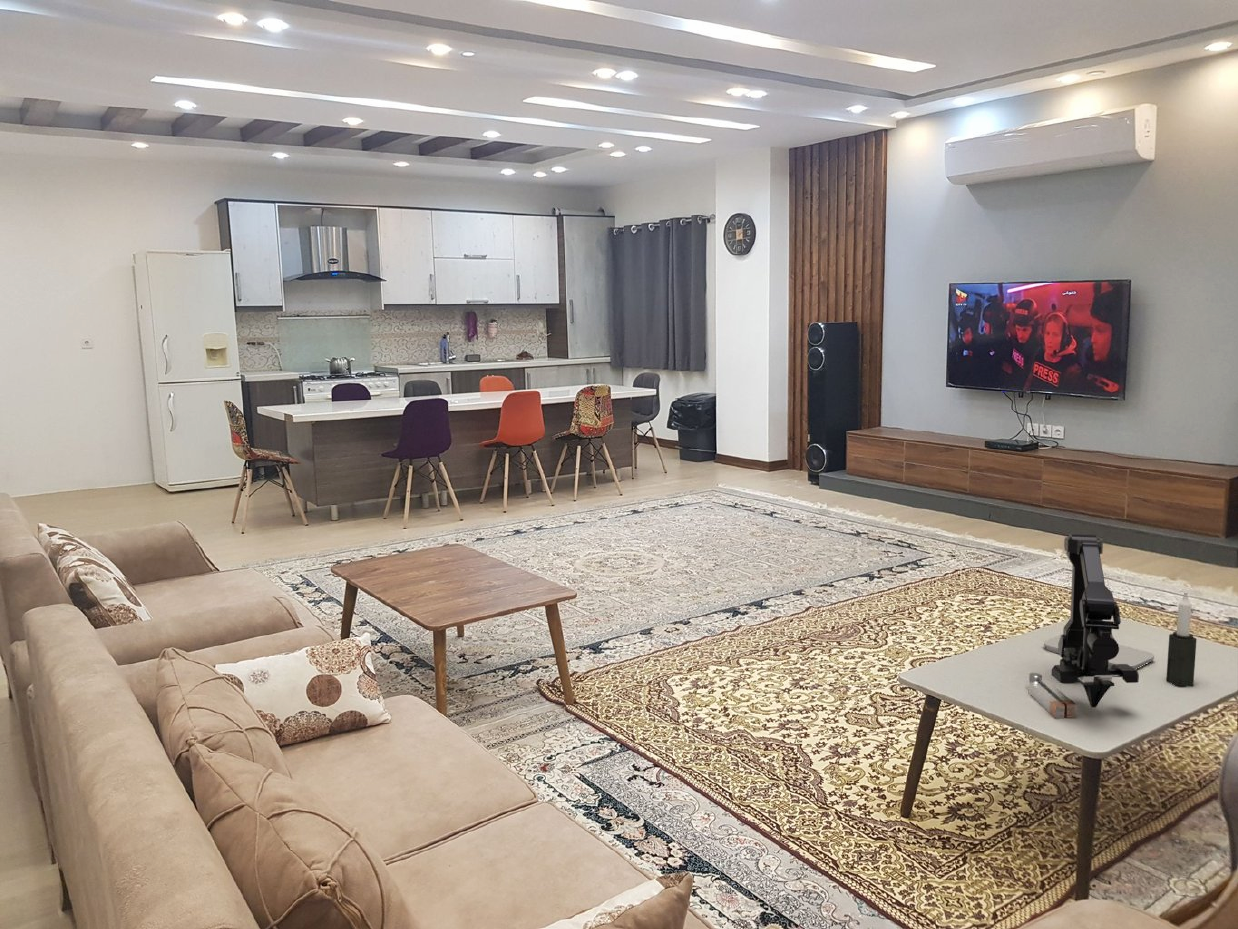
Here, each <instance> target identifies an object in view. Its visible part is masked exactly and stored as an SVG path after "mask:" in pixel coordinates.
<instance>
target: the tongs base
mask: <svg viewBox="0 0 1238 929" xmlns="http://www.w3.org/2000/svg"><path fill="white" fill-rule="evenodd" d="M1028 678H1029V679H1028V694H1029V695H1030V696H1031V695H1032V696H1033V699H1034V700H1035V701H1036V702H1037V703H1039V705H1040V706H1042V707H1043V708H1044V709H1045V710H1046V711H1047V712H1048V713H1049V712H1050V713H1049V714H1050V716H1052V717H1053V719H1065V715H1064V709H1065V706H1064V705H1063V704H1062V703H1061V702H1060V701H1058V700H1056V699H1055V698H1054V697H1053V696H1052V695H1051V694H1050V693H1049V692H1048V691H1047V690H1045V689H1044V688H1043V687H1042V686H1041V681H1043V675H1042V674H1040V673H1038V672H1031V673H1029V674H1028ZM1032 696H1031V697H1032Z"/></svg>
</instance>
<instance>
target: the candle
mask: <svg viewBox="0 0 1238 929" xmlns="http://www.w3.org/2000/svg"><path fill="white" fill-rule="evenodd" d="M1188 596H1189V595H1188V591H1184V592H1183V596H1182V597H1181V600H1180V601H1179V602H1178V607H1177V622H1176V631H1174V632H1172V633H1170V634H1169V635H1168V649H1167V651H1168V652H1167V664H1166V665H1167V666H1166V682H1167V683H1170V684H1171V683H1172V684H1171V685H1173V684H1174V685H1175V686H1174V685H1173V686H1174V687H1176V686H1179V687H1178V688H1186V686H1191V687H1194V683H1195V680H1194V679H1195V667H1196V653H1197V652H1196V651H1197V641H1198V640H1197V638H1196V637H1194V634H1192V633H1191V621H1192V620H1191V618H1192V603H1191V602H1190V599H1189V597H1188Z"/></svg>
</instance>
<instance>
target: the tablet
mask: <svg viewBox="0 0 1238 929" xmlns="http://www.w3.org/2000/svg"><path fill="white" fill-rule="evenodd" d="M1061 635H1063V633H1062V634H1060V635H1056V636H1054V637H1051V638H1049V639H1047V640H1044V641H1043V646H1044V647H1045V649H1046V651H1048V650H1049V651H1048V652H1051V651H1052V652H1051V653H1054V652H1056V653H1055V654H1058V653H1059V652H1058V643H1059V640H1060V637H1061ZM1118 646H1119V652H1118V654H1117V656H1116V657H1115V658H1113V659H1111V660H1109V663H1108V667H1110V668H1109V669H1111V666H1112V665H1113V664H1128V665H1129V666H1131V667H1132V668H1133V669H1136V668H1138V667H1140V666H1142V665H1144V664H1146V663H1149V662H1151V663H1152V661H1153V660H1154V659H1155V655H1154V654H1153V653H1151V652H1149V651H1145V650H1142V649H1138V648H1134V647H1130V646H1126V645H1124V644H1119V643H1118ZM1064 650H1065V649H1064ZM1149 664H1150V663H1149ZM1140 668H1141V667H1140ZM1138 669H1139V668H1138ZM1136 670H1137V669H1136Z"/></svg>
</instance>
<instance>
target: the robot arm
mask: <svg viewBox="0 0 1238 929" xmlns="http://www.w3.org/2000/svg"><path fill="white" fill-rule="evenodd" d="M1063 542H1064V543H1063V547H1064V551H1065V552H1066V556H1067V558H1068V560H1069V562H1070V563H1071V566H1072V567H1071V568H1072V570H1071V598H1070V618H1069V620H1068V621H1067V622H1066V624H1065V625H1064V626H1063V628H1062V629H1063V630H1062V634H1063V635H1062V634H1060V635H1061V637H1060V640H1059V643H1058V652H1059V654H1058V655H1059V656H1060V658H1061V659H1060V660H1059V664H1054V666H1053V667H1051V676H1052V677H1053V678H1054V679H1055V680H1056V681H1057V682H1058V683H1060V684H1065V685H1066V684H1072V685H1073V684H1076V683H1077V682H1079V683H1080V684H1082V686H1083V688H1084V691H1085V693H1086V697H1087V699H1088V703H1089V705H1090V707H1091V708H1092V709H1093V708H1097V706H1098V704H1099V703H1100V701H1101V700H1102V699H1103V697H1104V695H1105V694H1107V692H1108V691H1109V689H1111V687H1114V686H1115V683H1114V682H1113V681H1112V680H1113V678H1122V680H1123V682H1125V683H1127V684H1128V683H1129V684H1132V683H1133V684H1137V683H1139V680H1140V679H1139V678H1140V675H1139V674H1140V673H1139V672H1138V671H1137V669H1136V670H1135V669H1133V668H1132V667H1131V666H1129V665H1128V664H1113V665H1112V666H1111V668H1108V663H1109V660H1111V659H1113V658H1115V657H1116V656H1117V654H1118V652H1119V646H1118V644H1119V643H1118V642H1117V640H1116V639H1115V638H1114V636H1113V630H1119V629H1120V625H1121V622H1122V620H1121V613H1120V606H1119V605H1118V603H1117V601H1115V598H1114V596H1113V592H1112V591H1111V589H1110V588H1108V587H1107V586H1106V583H1105V578H1104V572H1103V570H1104V569H1103V564H1102V560H1101V559H1102V558H1101V555H1103V548H1104V546H1103V545H1104V540H1103V539H1102V538H1097V535H1096V534H1093V533H1092V534H1091V533H1069V535H1068V536H1066V537H1064V541H1063ZM1111 620H1112V621H1111ZM1064 649H1065V650H1064Z"/></svg>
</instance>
